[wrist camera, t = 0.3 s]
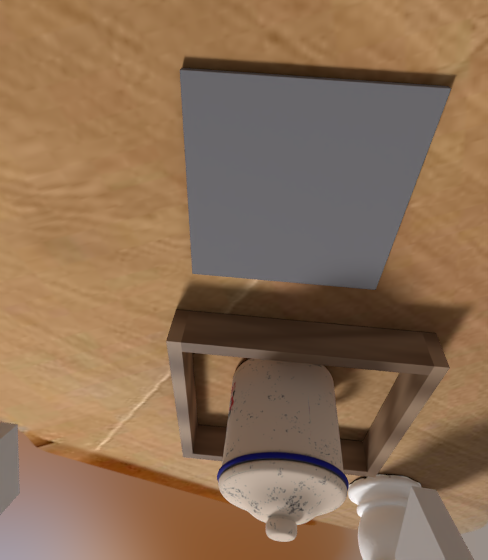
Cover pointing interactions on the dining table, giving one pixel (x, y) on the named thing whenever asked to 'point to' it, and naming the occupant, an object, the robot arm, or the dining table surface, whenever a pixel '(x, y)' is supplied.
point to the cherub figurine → (380, 513)
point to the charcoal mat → (301, 172)
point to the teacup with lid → (283, 445)
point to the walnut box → (311, 350)
